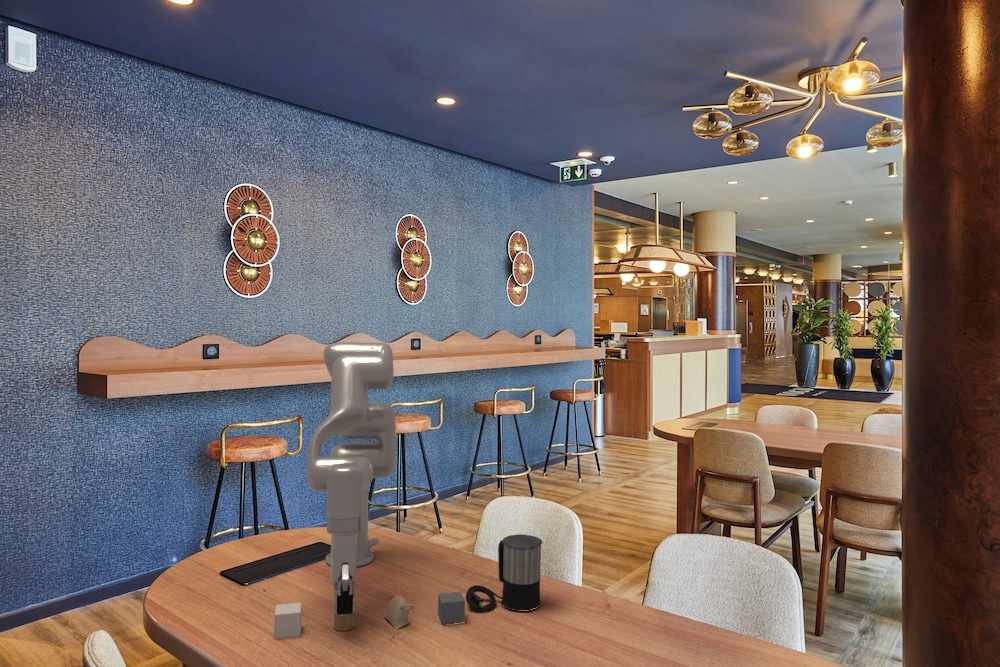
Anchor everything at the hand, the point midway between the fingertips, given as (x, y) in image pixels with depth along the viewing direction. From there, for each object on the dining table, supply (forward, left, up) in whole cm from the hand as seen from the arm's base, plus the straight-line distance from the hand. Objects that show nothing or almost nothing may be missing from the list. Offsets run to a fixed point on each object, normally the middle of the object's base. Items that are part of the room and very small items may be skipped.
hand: (344, 603), depth 141 cm
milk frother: (-28, +23, -5) cm, 36 cm away
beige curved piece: (-8, +8, -5) cm, 12 cm away
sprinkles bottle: (0, 0, -5) cm, 5 cm away
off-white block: (+8, -8, -5) cm, 12 cm away
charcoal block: (-15, +17, -5) cm, 23 cm away
